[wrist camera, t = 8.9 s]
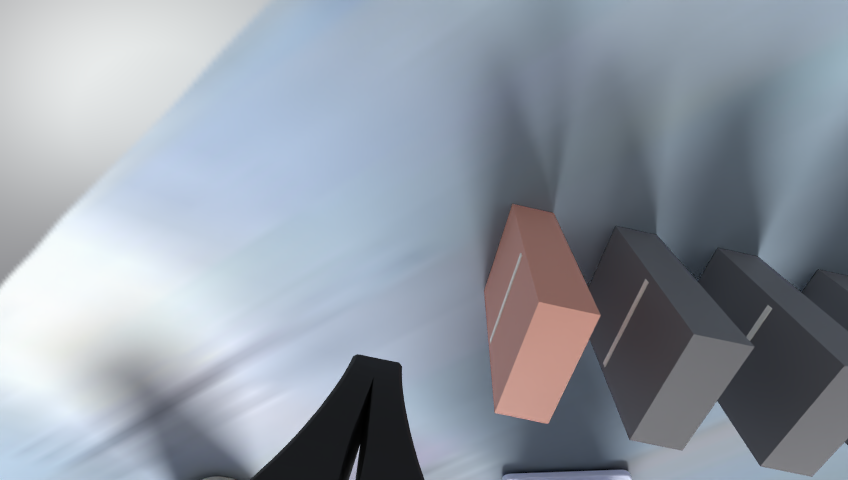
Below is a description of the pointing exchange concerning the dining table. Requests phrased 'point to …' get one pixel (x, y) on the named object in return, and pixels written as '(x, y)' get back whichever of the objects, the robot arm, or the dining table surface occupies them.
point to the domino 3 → (830, 296)
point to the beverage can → (218, 478)
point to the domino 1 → (660, 340)
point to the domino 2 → (781, 366)
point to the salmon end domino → (535, 315)
